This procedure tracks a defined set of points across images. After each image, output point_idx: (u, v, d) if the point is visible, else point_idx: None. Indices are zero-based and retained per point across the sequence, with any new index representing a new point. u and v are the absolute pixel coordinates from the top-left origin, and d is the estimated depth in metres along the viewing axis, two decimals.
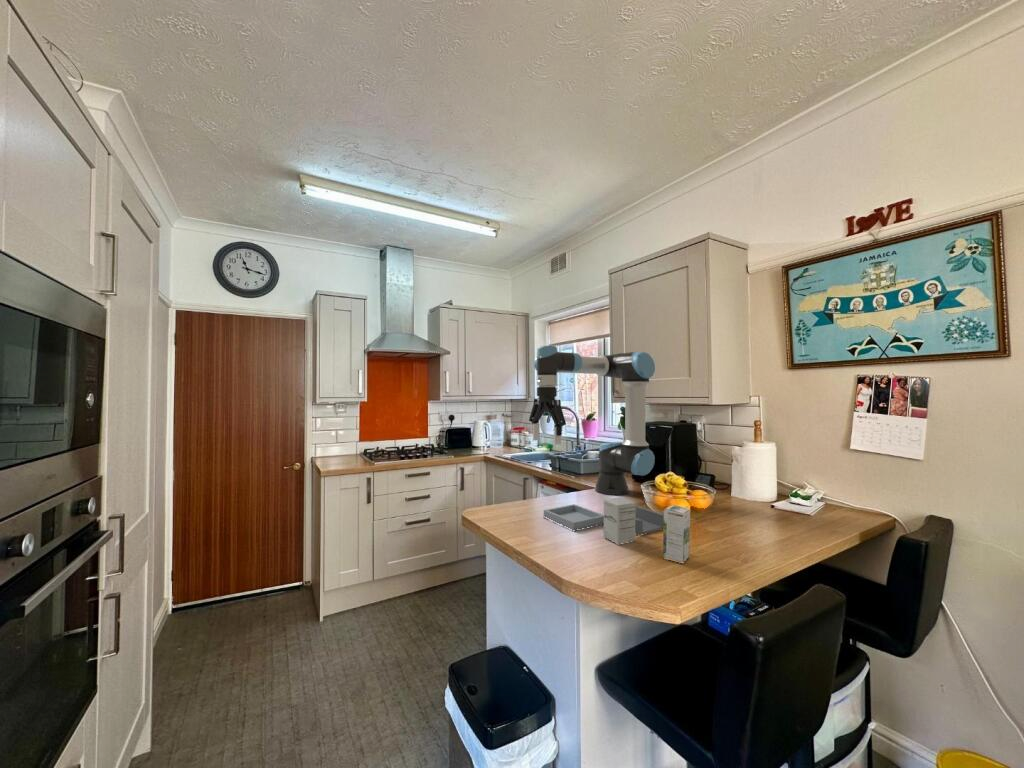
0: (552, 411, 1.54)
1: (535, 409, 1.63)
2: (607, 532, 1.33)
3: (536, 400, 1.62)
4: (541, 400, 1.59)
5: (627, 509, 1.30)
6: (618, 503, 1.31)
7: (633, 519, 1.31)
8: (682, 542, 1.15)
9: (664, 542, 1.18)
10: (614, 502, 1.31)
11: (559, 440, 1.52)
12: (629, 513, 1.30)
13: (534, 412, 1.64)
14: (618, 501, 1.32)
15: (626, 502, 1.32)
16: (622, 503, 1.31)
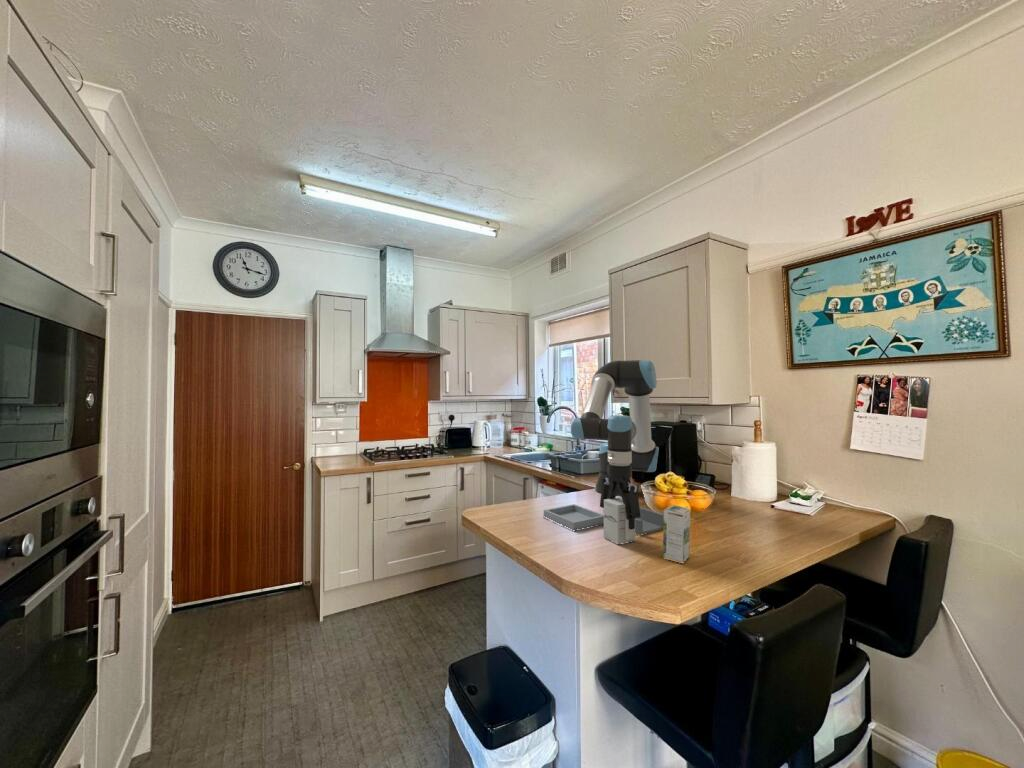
0: (626, 497, 1.30)
1: (605, 491, 1.38)
2: (607, 532, 1.33)
3: (605, 480, 1.38)
4: (612, 478, 1.34)
5: None
6: (618, 502, 1.31)
7: None
8: (682, 542, 1.15)
9: (664, 542, 1.18)
10: (614, 502, 1.31)
11: (631, 534, 1.30)
12: None
13: (605, 495, 1.38)
14: (618, 501, 1.32)
15: None
16: (622, 503, 1.31)
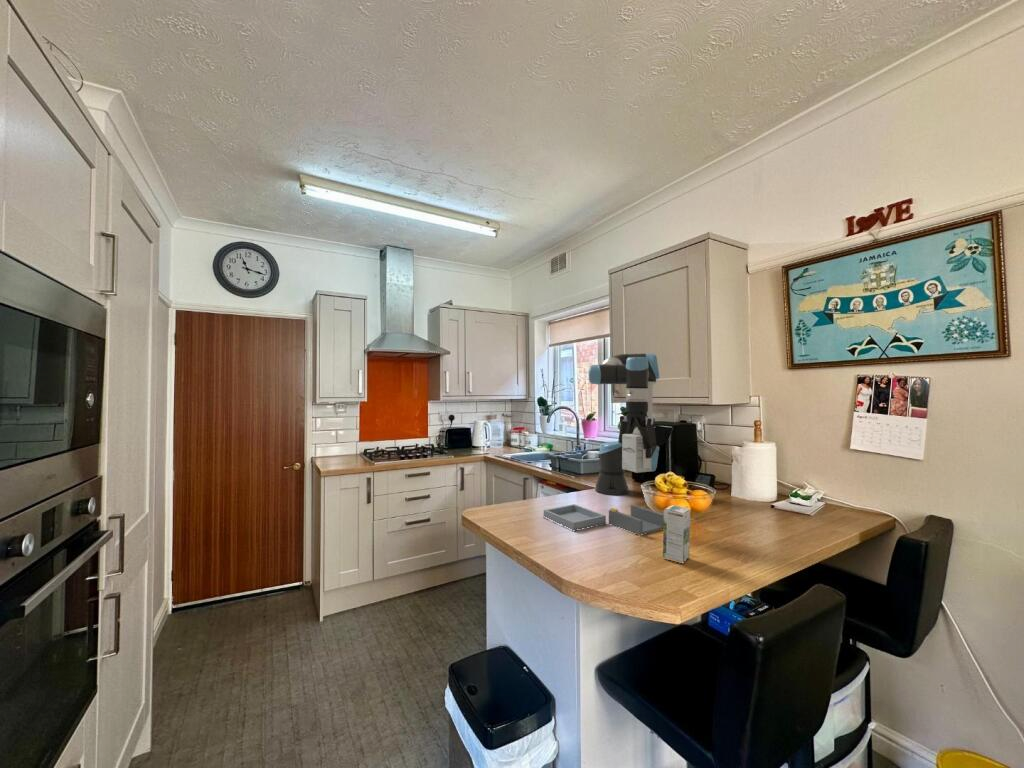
0: (643, 430, 1.43)
1: (623, 427, 1.51)
2: (626, 463, 1.46)
3: (623, 417, 1.51)
4: (630, 414, 1.48)
5: None
6: (636, 435, 1.44)
7: None
8: (682, 542, 1.15)
9: (664, 542, 1.18)
10: (632, 435, 1.45)
11: (648, 463, 1.43)
12: None
13: (623, 431, 1.51)
14: (636, 434, 1.46)
15: None
16: (639, 435, 1.44)
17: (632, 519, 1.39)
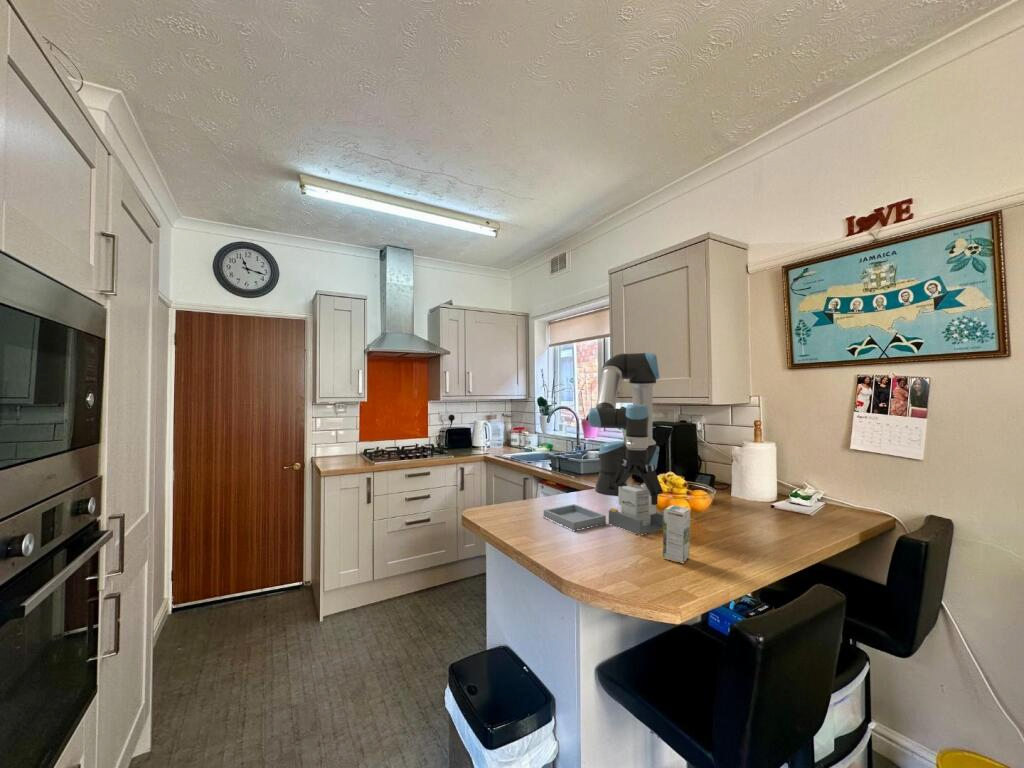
0: (645, 477, 1.42)
1: (621, 471, 1.52)
2: None
3: (623, 461, 1.51)
4: (630, 463, 1.47)
5: (644, 495, 1.43)
6: (636, 489, 1.44)
7: None
8: (682, 542, 1.15)
9: (664, 542, 1.18)
10: (632, 489, 1.45)
11: (654, 509, 1.41)
12: (645, 499, 1.44)
13: (620, 474, 1.52)
14: (635, 488, 1.46)
15: (642, 488, 1.45)
16: (639, 489, 1.44)
17: (632, 519, 1.39)
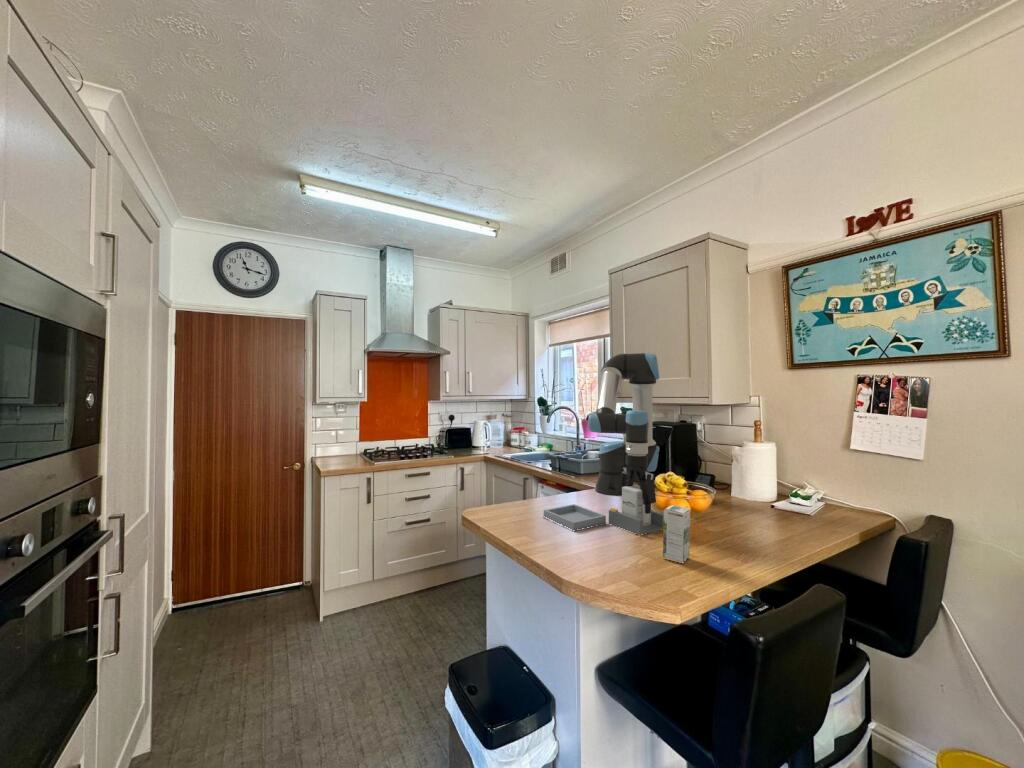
0: (643, 485, 1.43)
1: (623, 479, 1.51)
2: None
3: (623, 469, 1.51)
4: (629, 467, 1.48)
5: None
6: (636, 489, 1.44)
7: None
8: (682, 542, 1.15)
9: (664, 542, 1.18)
10: (632, 489, 1.44)
11: (647, 518, 1.43)
12: None
13: (623, 483, 1.51)
14: (636, 488, 1.46)
15: None
16: (639, 489, 1.44)
17: (632, 519, 1.39)
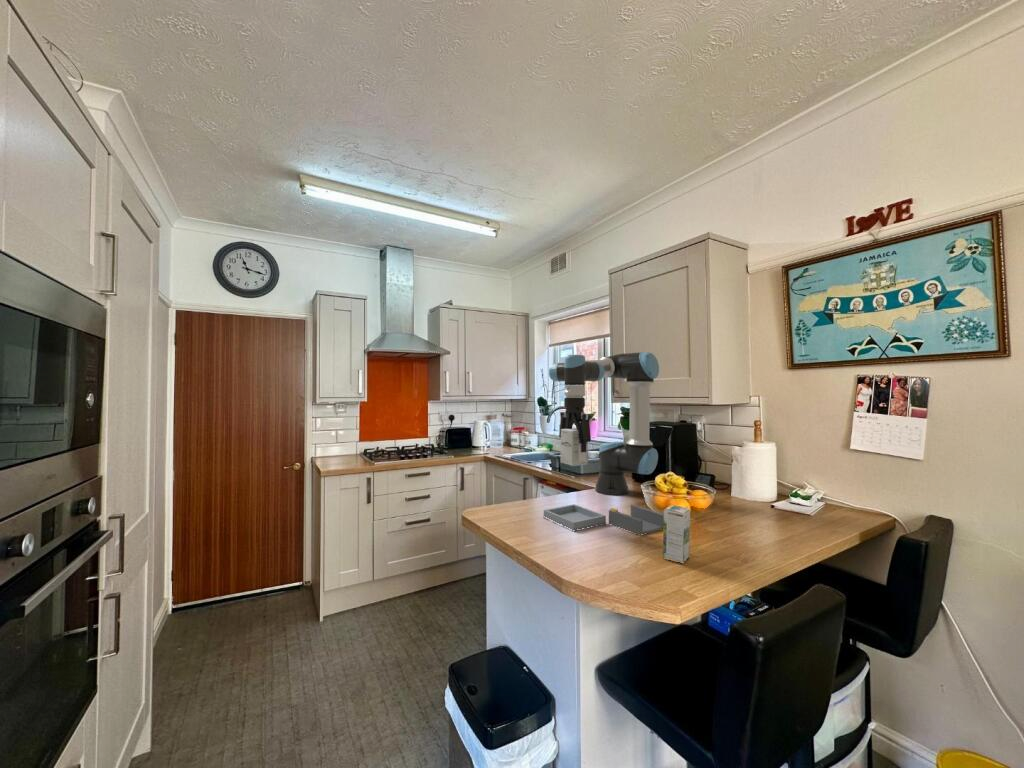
0: (579, 425, 1.49)
1: (563, 423, 1.56)
2: (564, 456, 1.51)
3: (563, 413, 1.56)
4: (568, 410, 1.53)
5: None
6: (573, 430, 1.49)
7: (586, 444, 1.50)
8: (682, 542, 1.15)
9: (664, 542, 1.18)
10: (569, 429, 1.50)
11: (583, 457, 1.48)
12: None
13: (563, 426, 1.56)
14: (573, 429, 1.51)
15: None
16: (576, 430, 1.49)
17: (632, 519, 1.39)
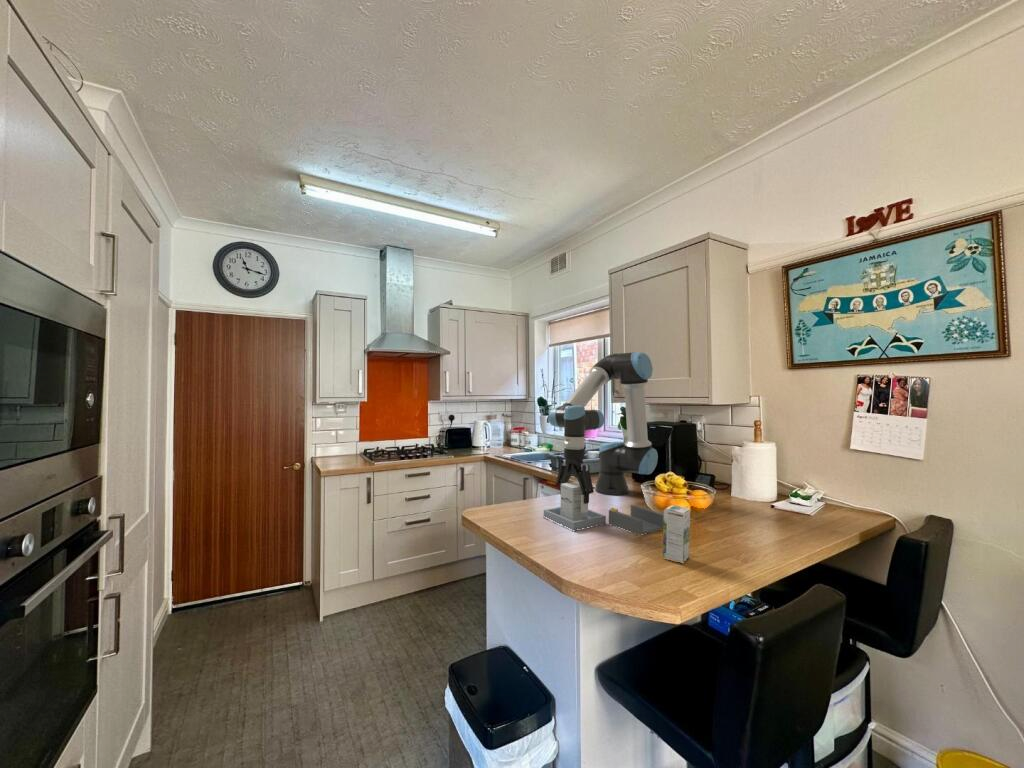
0: (580, 476, 1.48)
1: (562, 471, 1.57)
2: (564, 512, 1.51)
3: (562, 461, 1.56)
4: (568, 461, 1.53)
5: (581, 491, 1.49)
6: (573, 486, 1.49)
7: None
8: (682, 542, 1.15)
9: (664, 542, 1.18)
10: (569, 485, 1.50)
11: (586, 508, 1.47)
12: None
13: (561, 474, 1.57)
14: (573, 484, 1.51)
15: None
16: (576, 486, 1.49)
17: (632, 519, 1.39)
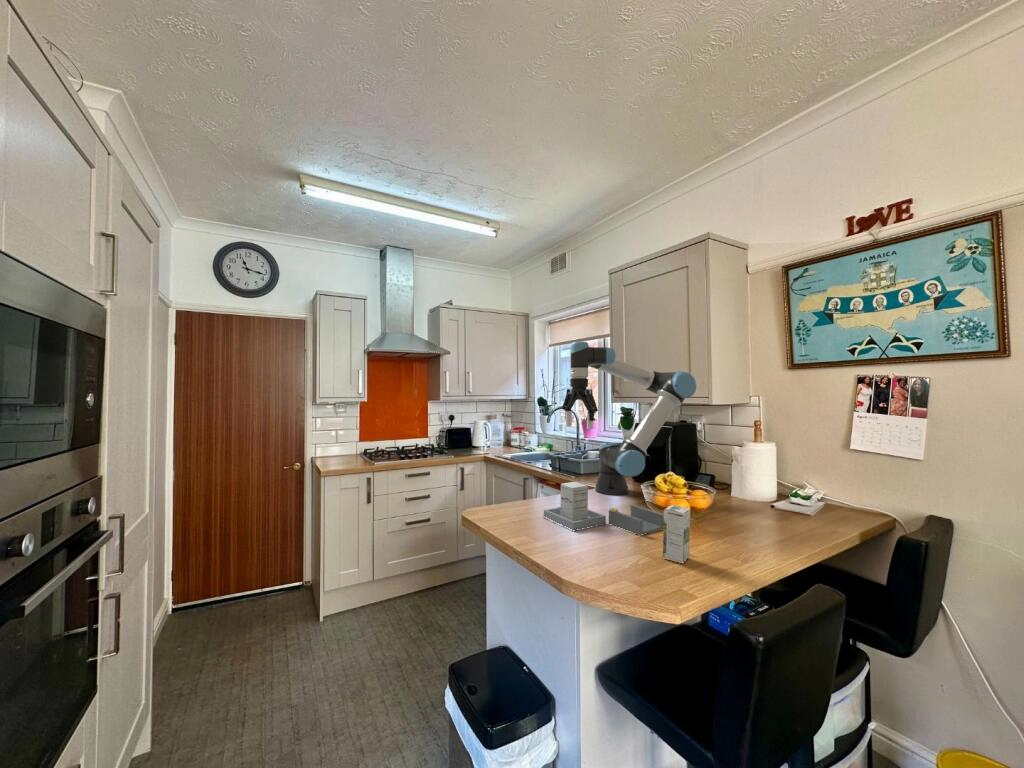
0: (585, 399, 1.74)
1: (568, 398, 1.84)
2: (564, 512, 1.51)
3: (569, 390, 1.83)
4: (574, 390, 1.79)
5: (581, 491, 1.49)
6: (573, 486, 1.49)
7: (586, 500, 1.50)
8: (682, 542, 1.15)
9: (664, 542, 1.18)
10: (569, 485, 1.50)
11: (591, 425, 1.72)
12: (582, 495, 1.49)
13: (567, 401, 1.84)
14: (573, 484, 1.51)
15: (580, 485, 1.50)
16: (576, 486, 1.49)
17: (632, 519, 1.39)
